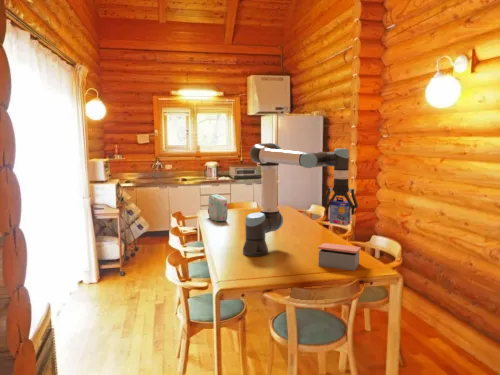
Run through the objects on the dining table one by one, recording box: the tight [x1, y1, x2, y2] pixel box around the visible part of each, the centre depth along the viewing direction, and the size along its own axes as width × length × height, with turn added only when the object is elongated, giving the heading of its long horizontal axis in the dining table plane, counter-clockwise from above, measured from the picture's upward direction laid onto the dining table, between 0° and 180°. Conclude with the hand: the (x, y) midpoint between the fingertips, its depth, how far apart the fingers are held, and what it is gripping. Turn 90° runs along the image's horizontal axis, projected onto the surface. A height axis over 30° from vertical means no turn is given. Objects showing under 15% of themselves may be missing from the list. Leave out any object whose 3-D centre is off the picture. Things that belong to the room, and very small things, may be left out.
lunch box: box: [207, 193, 229, 223], centre depth 318 cm, size 27×10×21 cm, turn 25°
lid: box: [317, 242, 362, 253], centre depth 203 cm, size 20×12×1 cm, turn 64°
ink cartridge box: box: [329, 196, 352, 227], centre depth 200 cm, size 10×6×14 cm, turn 51°
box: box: [318, 249, 360, 272], centre depth 204 cm, size 19×12×8 cm, turn 64°
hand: (340, 219), depth 201 cm, fingers closed on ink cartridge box, 10 cm apart
